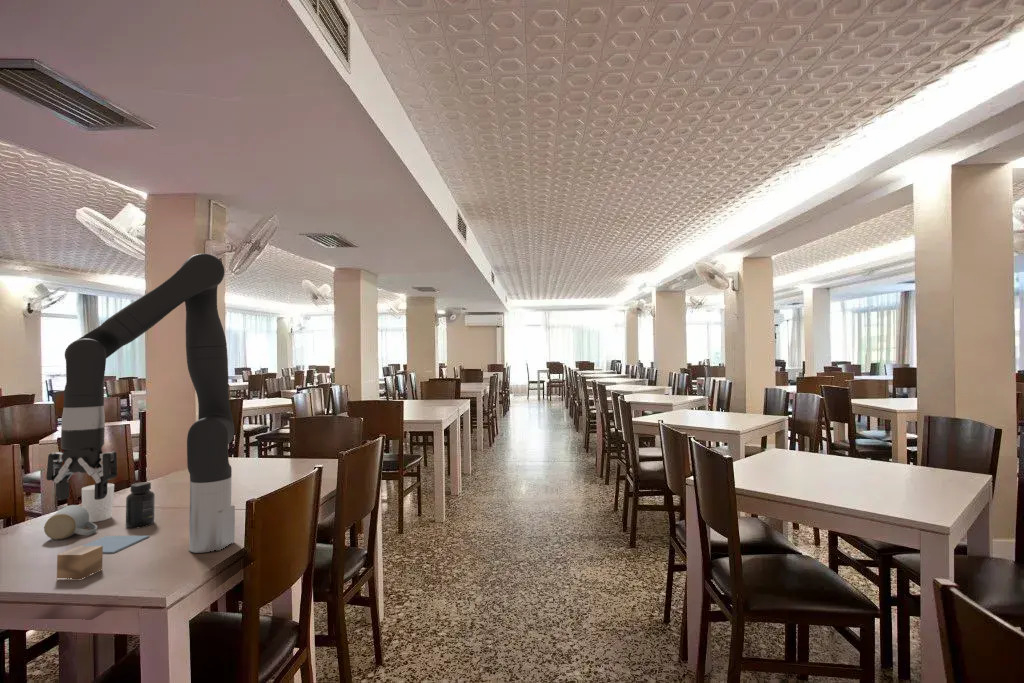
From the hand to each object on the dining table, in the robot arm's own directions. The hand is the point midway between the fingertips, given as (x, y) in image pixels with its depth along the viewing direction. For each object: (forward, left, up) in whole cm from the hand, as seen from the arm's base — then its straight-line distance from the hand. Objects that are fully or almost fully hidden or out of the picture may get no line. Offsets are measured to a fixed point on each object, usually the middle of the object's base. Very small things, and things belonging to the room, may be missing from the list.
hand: (81, 499), depth 114 cm
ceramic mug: (+26, -27, -17) cm, 41 cm away
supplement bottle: (+14, -36, -17) cm, 42 cm away
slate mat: (+9, -19, -17) cm, 27 cm away
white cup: (+32, -42, -17) cm, 55 cm away
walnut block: (0, 0, -17) cm, 17 cm away
